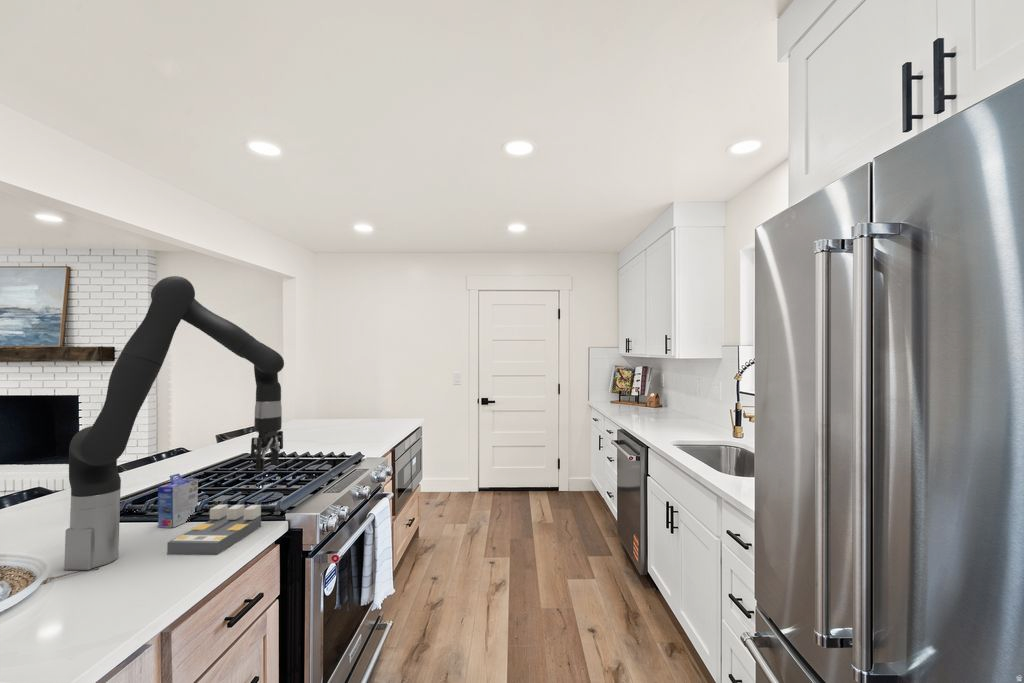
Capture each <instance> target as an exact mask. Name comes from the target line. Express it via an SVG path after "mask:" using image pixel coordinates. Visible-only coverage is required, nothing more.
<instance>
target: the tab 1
mask: <svg viewBox="0 0 1024 683" xmlns="http://www.w3.org/2000/svg"><path fill="white" fill-rule="evenodd" d="M228 508H229V504H217V505H215V506H213V507H211V508H210V509H209V520H212V519H221V518H223V517H225V516H227V509H228Z"/></svg>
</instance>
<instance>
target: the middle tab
mask: <svg viewBox="0 0 1024 683" xmlns="http://www.w3.org/2000/svg"><path fill="white" fill-rule="evenodd" d="M245 508H246V507H245V504H234V505H232V506H230V507H228V509H227V519H233V520H236V519H238V518H240V517H242V516H244V509H245Z"/></svg>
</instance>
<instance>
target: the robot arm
mask: <svg viewBox="0 0 1024 683" xmlns="http://www.w3.org/2000/svg"><path fill="white" fill-rule="evenodd" d="M150 298H151V302H150V305H149V307H148V309H147V313H146V315H145V316H144V318H143V320H142V322H141V323H140V325H139V326H138V327H137V329H136V330H135V331H134V332H133V333H132V335H131V337H130V338H128V341H127V342H126V344H125V345H124V347H123V348H122V350H121V352H120V354H119V356H118V358H117V360H116V361H115V364H114V366H113V368H112V370H111V373H110V376H109V378H108V379H109V380H108V385H107V390H106V395H105V396H106V397H105V400H104V404H103V406H102V407H101V408H102V409H101V410H100V413H99V414H98V415H97V418H96V419H95V421H94V423H93V424H92V425H91V426H86V427H84V428H82V429H80V430H79V431H77V432H76V433H75V434H74V436H73V437H72V439H71V440H70V444H69V447H68V448H69V449H68V481H69V485H70V509H69V510H70V512H69V528H67V529H65V537H64V540H65V541H64V542H65V543H64V565H63V566H64V567H63V569H64V571H65V570H69V571H70V570H71V571H74V570H75V571H76V570H79V571H89V570H91V569H94V568H97V567H101V566H104V565H108V564H110V563H112V562H114V561H116V560H117V559H118V558H119V555H120V554H119V552H120V551H119V550H120V549H119V547H120V512H121V487H122V486H121V485H122V479H121V476H120V473H119V470H118V459H119V458H120V457H121V456H122V454H124V452H125V450H126V448H127V445H128V443H129V440H130V436H131V433H132V431H133V427H134V425H135V422H136V419H137V417H138V414H139V412H140V410H141V408H142V406H143V405H144V403H145V401H146V398H147V397H148V395H149V392H150V390H151V389H152V387H153V385H154V382H155V381H156V379H157V377H158V375H159V373H160V371H161V369H162V366H163V364H164V362H165V359H166V357H167V354H168V352H169V351H170V350H169V349H170V346H171V345H172V344H171V343H172V341H173V339H174V335H175V332H176V330H177V329H178V326H179V324H180V323H181V321H184V322H185V323H187V324H189V325H191V326H193V327H195V328H196V329H198V330H200V331H201V332H203V333H204V334H205V335H207V336H209V337H210V338H211V339H213V340H215V341H216V342H217V343H219V344H220V345H221V346H223V347H224V348H226V349H227V350H228V351H230V352H231V353H233V354H235V355H236V356H238V357H240V358H242V359H245V360H247V361H248V362H250V363H251V364H252V365H253V373H254V379H255V380H254V381H255V386H256V388H255V404H254V422H253V423H254V432H256V433H258V436H257V437H252V438H251V444H250V458H251V459H255V472H263V471H264V470H265V457H266V454H267V453H268V452H269V451H270V465H273V466H277V465H279V462H280V461H279V458H280V452H281V450H283V449H284V431H283V430H282V422H283V420H282V416H283V414H282V413H283V408H282V387H281V384H280V381H279V373H280V372H281V371H282V370H283V369H284V367H285V360H284V358H283V356H282V355H281V354H280V353H279V352H278V351H276V350H274V349H273V348H271V347H269V346H268V345H266V344H265V343H262V342H261V341H260V340H257V339H256V338H255V337H254V336H253V335H251V333H248V332H247V331H246V330H244V329H243V328H242V327H240V326H239V325H237V324H235V323H234V322H232V321H230V320H228V319H226V318H224V317H222V316H220V315H219V314H216V313H215V312H213V311H211V310H209V309H208V308H206V307H205V306H204V305H202V304H201V303H200V302H199V301H198V300H197V299H195V298H196V292H195V287H194V286H193V284H192V283H191V281H189V280H188V279H187V278H185V277H182V276H179V275H172V276H167V277H165V278H161V279H160V280H159V281H158V282H157V283H156V284H155V285H154V286H153V287H152V289H151V292H150Z"/></svg>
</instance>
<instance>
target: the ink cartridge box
mask: <svg viewBox="0 0 1024 683" xmlns="http://www.w3.org/2000/svg"><path fill="white" fill-rule="evenodd" d="M175 477H177V478H176V479H174V478H175ZM169 479H170V482H169V483H166V484H164V485H161V486H158V487H157V504H158V505H157V515H158V518H157V521H158V523H157V525H158V528H166V529H172V528H175V527H178V526H180V525H182V524H185V523H186V521H187V519H188V517H190V515H192V514H193V513H194V512H195V507H196V506H197V505H198V504H199V502H198V501H199V500H198V498H199V496H198V494H199V493H198V492H199V482H198V481H199V479H198V478H187V477H186V478H183V477H182V476H181V474H180V473H175V474H172V475H169ZM198 506H199V505H198ZM187 522H188V521H187Z"/></svg>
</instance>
